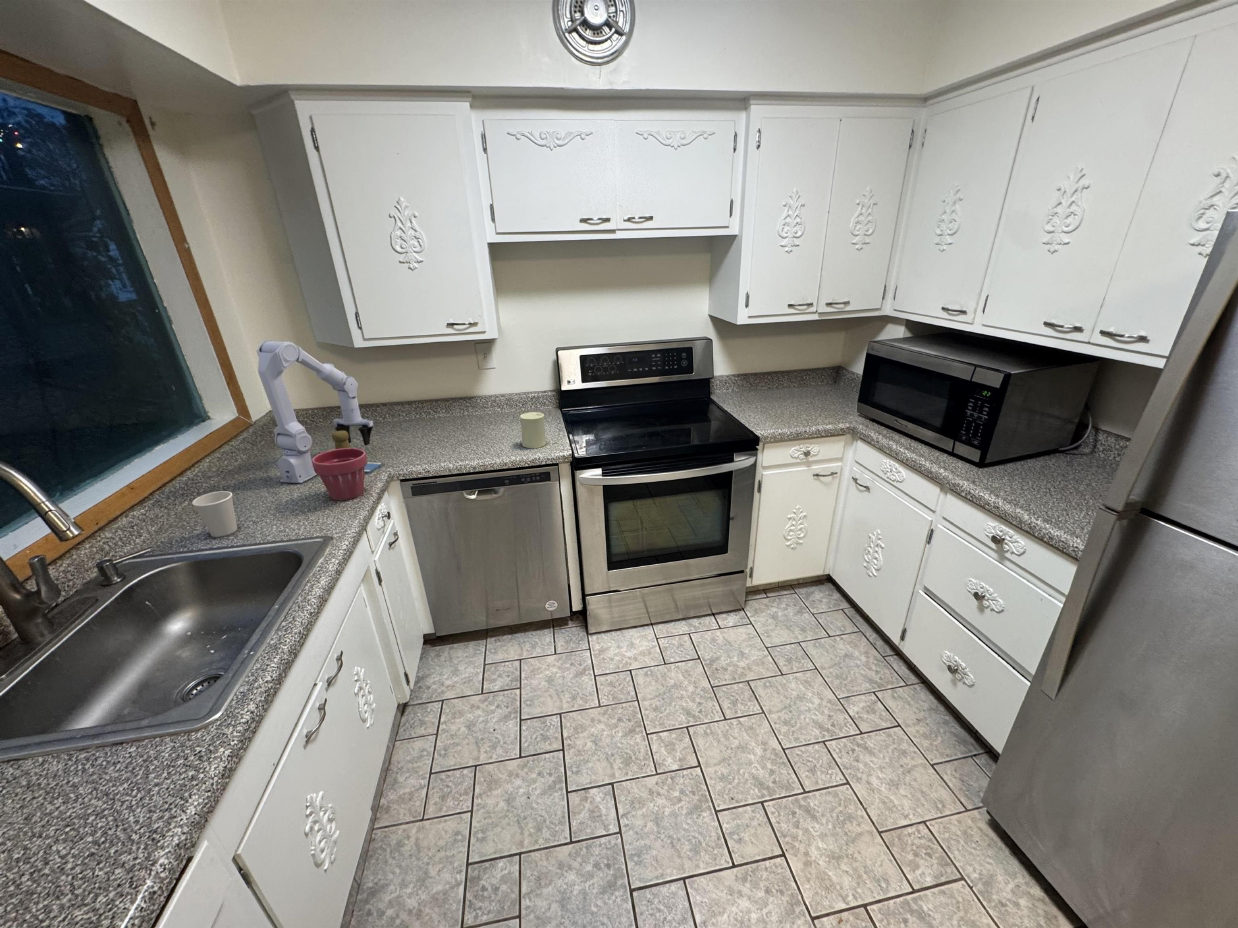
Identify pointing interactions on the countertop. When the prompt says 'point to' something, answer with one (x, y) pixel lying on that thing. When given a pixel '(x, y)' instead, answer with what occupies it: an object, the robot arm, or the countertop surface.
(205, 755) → the countertop surface
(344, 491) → the flower pot
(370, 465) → the towel
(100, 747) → the countertop surface
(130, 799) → the countertop surface
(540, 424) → the can
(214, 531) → the dixie cup
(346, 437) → the cork
